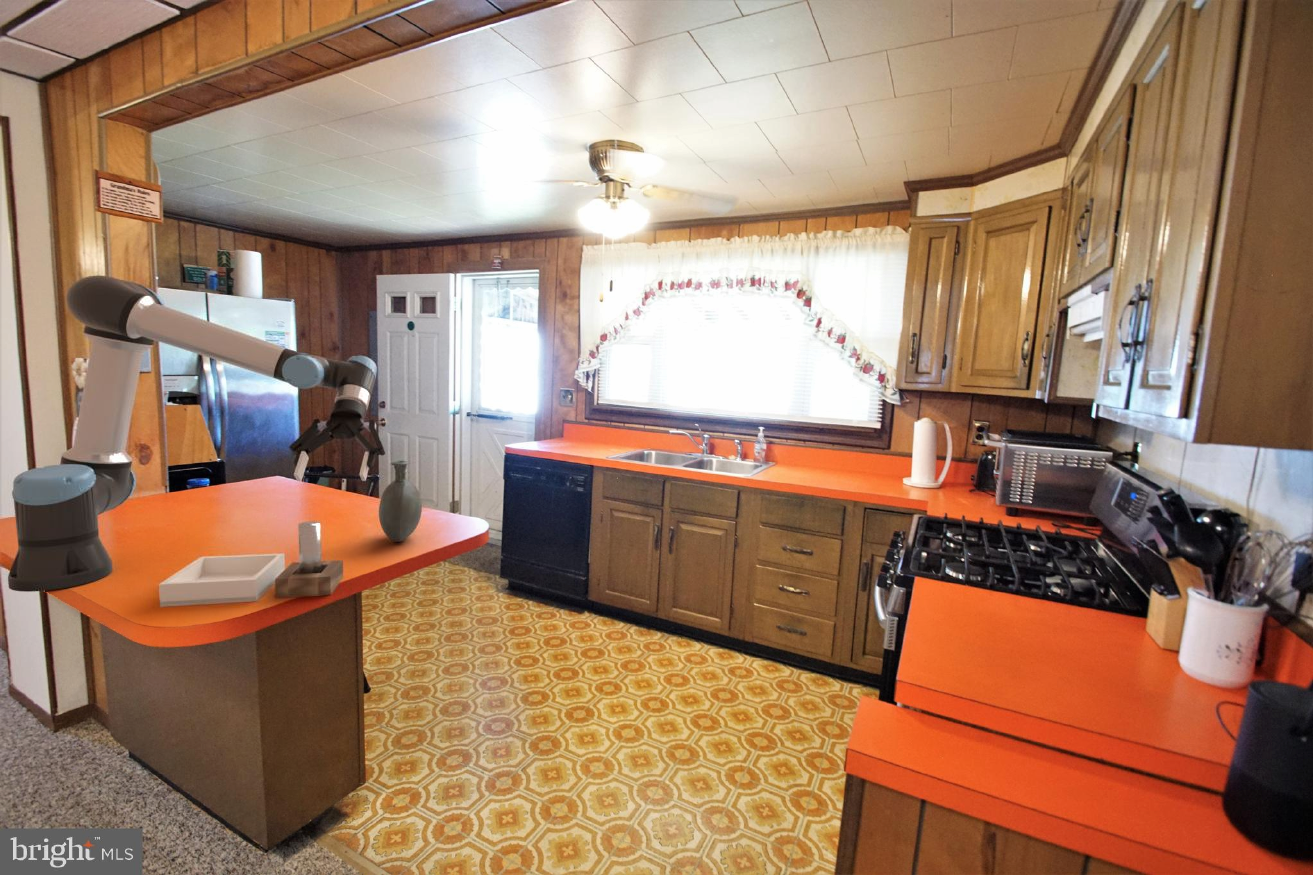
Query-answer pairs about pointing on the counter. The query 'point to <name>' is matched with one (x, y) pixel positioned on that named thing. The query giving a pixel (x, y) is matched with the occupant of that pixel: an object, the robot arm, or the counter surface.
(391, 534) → the flask
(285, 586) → the socket block
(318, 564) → the steel pin
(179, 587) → the tray
